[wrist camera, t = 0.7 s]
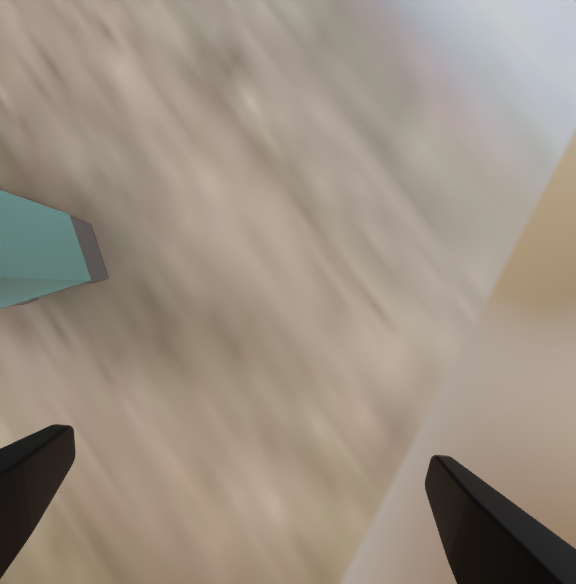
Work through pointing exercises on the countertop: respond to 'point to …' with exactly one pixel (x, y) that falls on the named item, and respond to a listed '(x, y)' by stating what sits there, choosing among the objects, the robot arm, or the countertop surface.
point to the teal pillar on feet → (43, 251)
